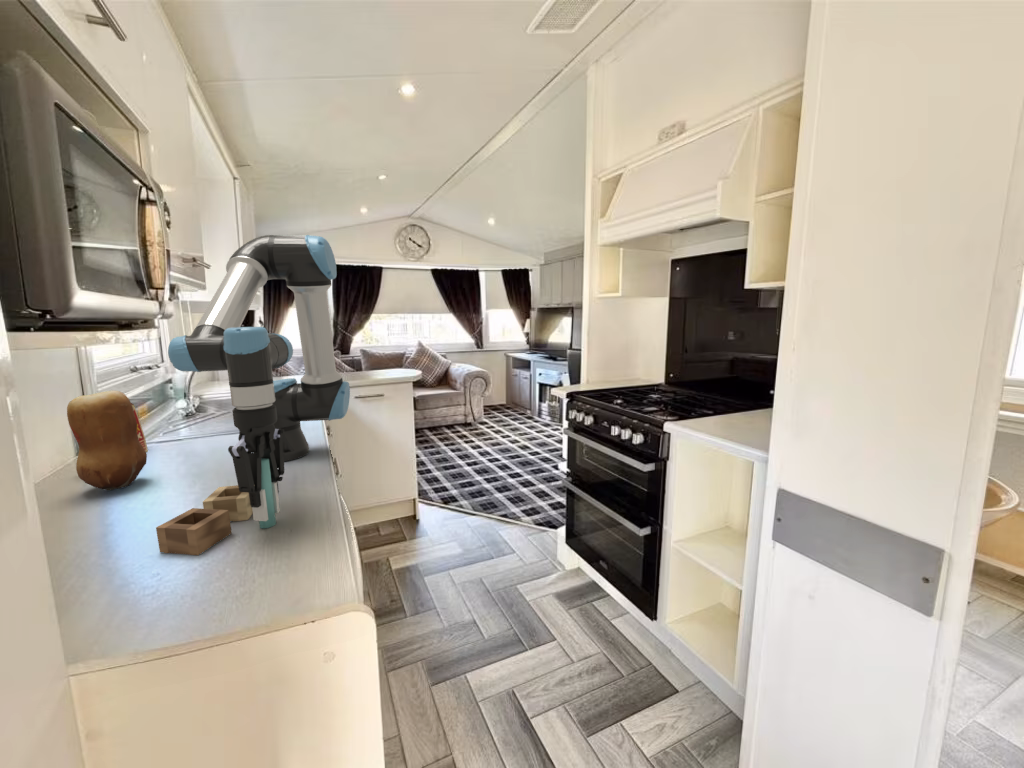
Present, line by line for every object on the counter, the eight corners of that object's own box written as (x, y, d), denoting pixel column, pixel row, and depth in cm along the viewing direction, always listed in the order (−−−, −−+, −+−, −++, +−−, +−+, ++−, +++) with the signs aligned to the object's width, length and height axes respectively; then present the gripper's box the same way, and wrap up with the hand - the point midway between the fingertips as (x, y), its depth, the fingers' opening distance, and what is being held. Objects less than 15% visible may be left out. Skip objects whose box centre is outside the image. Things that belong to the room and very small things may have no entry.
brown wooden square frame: (196, 531, 89) (192, 508, 88) (231, 533, 88) (228, 510, 87) (160, 552, 81) (155, 527, 80) (198, 555, 80) (194, 529, 79)
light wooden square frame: (221, 507, 100) (219, 486, 99) (260, 504, 101) (257, 483, 101) (205, 524, 92) (202, 501, 91) (247, 519, 94) (245, 497, 93)
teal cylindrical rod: (266, 521, 93) (259, 457, 91) (279, 521, 93) (272, 458, 90) (256, 527, 90) (248, 462, 88) (269, 528, 90) (261, 463, 87)
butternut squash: (81, 488, 112) (63, 392, 108) (148, 473, 121) (134, 384, 117) (81, 504, 102) (61, 399, 98) (154, 487, 112) (139, 391, 107)
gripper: (264, 397, 95) (275, 498, 99) (204, 414, 80) (220, 534, 84) (296, 397, 94) (306, 500, 98) (241, 415, 79) (256, 536, 83)
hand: (267, 515), depth 91 cm, fingers closed on teal cylindrical rod, 3 cm apart
